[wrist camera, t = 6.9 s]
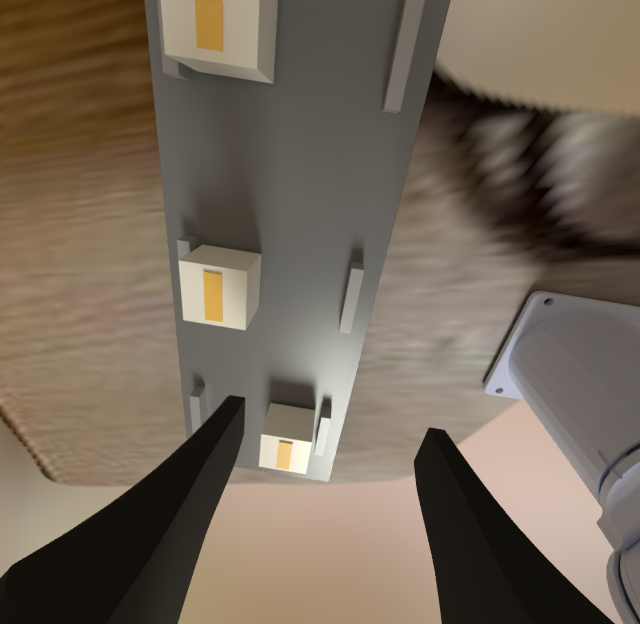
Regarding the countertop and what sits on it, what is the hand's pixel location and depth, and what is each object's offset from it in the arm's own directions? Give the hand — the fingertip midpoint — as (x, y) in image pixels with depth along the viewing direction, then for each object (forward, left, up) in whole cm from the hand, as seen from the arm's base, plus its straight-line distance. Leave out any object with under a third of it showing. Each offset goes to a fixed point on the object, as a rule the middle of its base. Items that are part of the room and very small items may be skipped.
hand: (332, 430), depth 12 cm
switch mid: (+6, -3, -6) cm, 9 cm away
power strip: (+4, -3, -9) cm, 11 cm away
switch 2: (+2, +7, -6) cm, 10 cm away
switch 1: (+6, -13, -6) cm, 16 cm away
